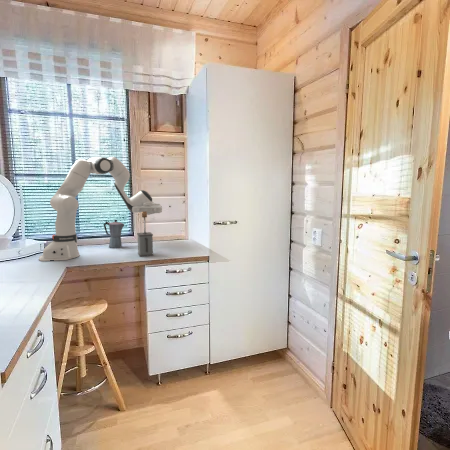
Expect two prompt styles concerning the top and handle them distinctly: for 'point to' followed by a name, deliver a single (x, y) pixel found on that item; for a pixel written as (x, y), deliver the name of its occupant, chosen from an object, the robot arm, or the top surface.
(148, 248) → the press
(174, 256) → the top surface
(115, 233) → the moka pot
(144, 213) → the plunger
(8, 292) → the top surface
